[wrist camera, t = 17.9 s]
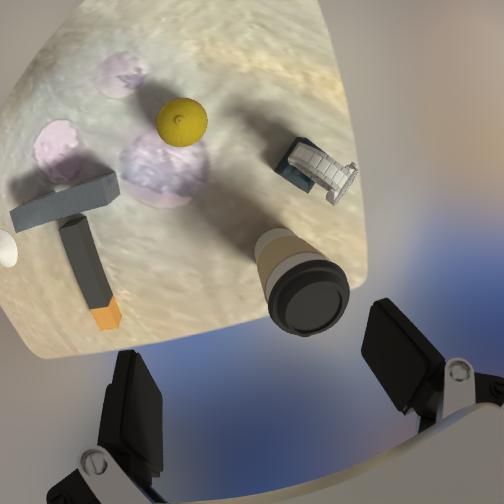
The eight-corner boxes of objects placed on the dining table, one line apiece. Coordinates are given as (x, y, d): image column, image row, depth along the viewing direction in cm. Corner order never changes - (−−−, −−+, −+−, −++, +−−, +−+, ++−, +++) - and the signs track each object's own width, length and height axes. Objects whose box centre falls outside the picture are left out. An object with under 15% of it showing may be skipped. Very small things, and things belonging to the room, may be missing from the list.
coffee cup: (271, 208, 36) (315, 254, 23) (318, 240, 40) (373, 293, 26) (234, 261, 39) (255, 330, 25) (282, 287, 42) (319, 354, 29)
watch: (310, 196, 37) (350, 220, 27) (263, 164, 34) (291, 177, 24) (331, 163, 35) (378, 177, 25) (286, 129, 32) (323, 128, 22)
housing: (30, 200, 28) (9, 211, 23) (115, 171, 30) (101, 179, 25) (35, 219, 30) (16, 233, 25) (120, 194, 31) (107, 205, 26)
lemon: (159, 106, 28) (148, 98, 21) (204, 100, 29) (206, 89, 22) (163, 149, 30) (153, 153, 23) (208, 142, 31) (211, 144, 24)
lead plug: (68, 221, 31) (58, 229, 28) (86, 216, 32) (77, 224, 29) (105, 318, 38) (100, 330, 35) (122, 315, 39) (118, 328, 36)
